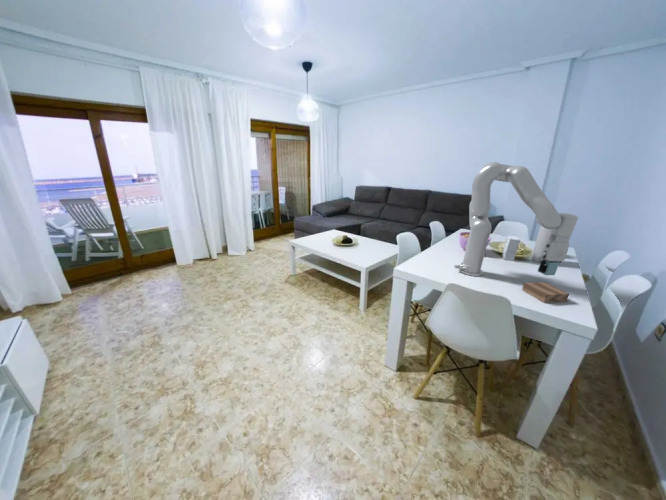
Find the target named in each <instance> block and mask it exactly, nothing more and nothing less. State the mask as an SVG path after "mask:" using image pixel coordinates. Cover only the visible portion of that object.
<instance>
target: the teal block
mask: <svg viewBox="0 0 666 500" xmlns="http://www.w3.org/2000/svg"><path fill="white" fill-rule="evenodd" d="M545 262H546V260H545ZM540 265H541V264H540V263H539V265H538V269H537V273H540V274H542V275H544V276H555V275H556V272H557V270H558V267H559V265H560V263H559V262H556V261H549V263H548V264H547V265H546V266H547V269H546V271H545V273H542V272H540V271H539V268H540Z"/></svg>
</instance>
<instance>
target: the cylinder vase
mask: <svg viewBox="0 0 666 500" xmlns="http://www.w3.org/2000/svg"><path fill="white" fill-rule="evenodd" d="M539 227H540V228H539V230H538V234H537V236H536V241H535V244H534V247H533V249H532V253H531V256H530V260H532V261H533V262H536V263H537V264H540V261H539V260H538V258H539V257H540V256H541V253H542V251H543V248H544V246H545V244H546V243H547V241H548V240H549V237H550V234H551V232H552V229H546V228H544V227H542V226H541V225H539Z"/></svg>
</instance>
